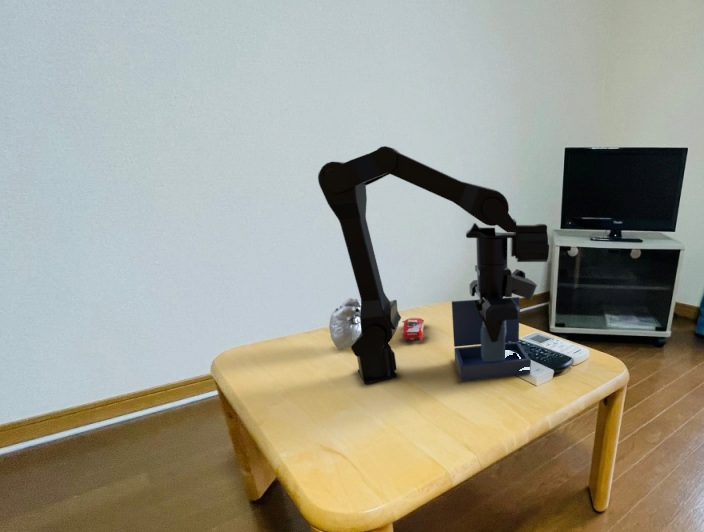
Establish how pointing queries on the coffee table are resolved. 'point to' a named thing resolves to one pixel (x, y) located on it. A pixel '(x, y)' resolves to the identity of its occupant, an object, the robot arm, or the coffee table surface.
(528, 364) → the box
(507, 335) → the lid
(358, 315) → the heart
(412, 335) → the race car
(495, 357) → the vaping device
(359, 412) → the coffee table surface
